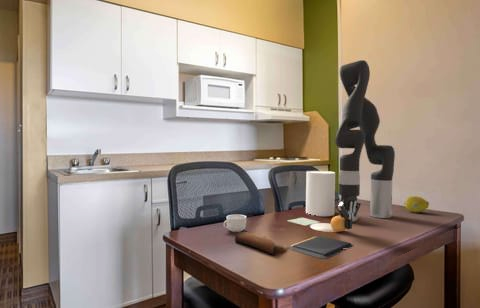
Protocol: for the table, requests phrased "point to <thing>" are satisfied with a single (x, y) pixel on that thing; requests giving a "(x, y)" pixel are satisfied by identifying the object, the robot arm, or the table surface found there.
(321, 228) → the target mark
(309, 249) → the wallet
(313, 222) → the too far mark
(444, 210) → the table surface
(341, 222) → the ball
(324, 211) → the canister
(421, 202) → the lemon
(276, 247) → the sunglasses case
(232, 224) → the teacup
